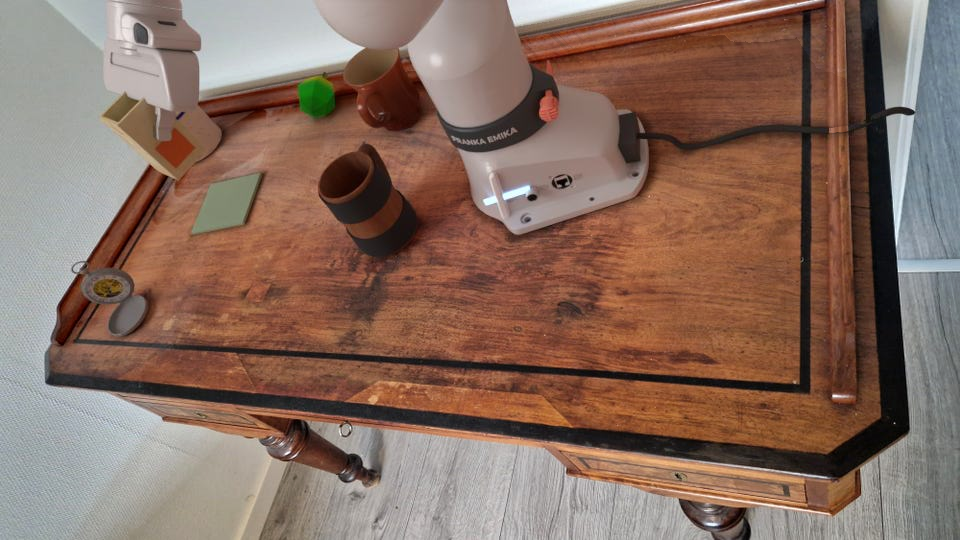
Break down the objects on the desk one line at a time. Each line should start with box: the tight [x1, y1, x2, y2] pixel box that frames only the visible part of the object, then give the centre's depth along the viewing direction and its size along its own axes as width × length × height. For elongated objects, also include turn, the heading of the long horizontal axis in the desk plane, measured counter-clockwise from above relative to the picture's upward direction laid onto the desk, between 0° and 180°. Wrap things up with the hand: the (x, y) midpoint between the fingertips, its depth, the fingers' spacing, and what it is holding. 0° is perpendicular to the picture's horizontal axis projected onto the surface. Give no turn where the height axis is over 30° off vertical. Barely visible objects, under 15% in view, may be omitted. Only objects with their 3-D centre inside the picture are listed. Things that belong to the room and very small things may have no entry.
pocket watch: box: [70, 260, 149, 337], centre depth 92 cm, size 8×8×10 cm
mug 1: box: [342, 47, 424, 132], centre depth 93 cm, size 12×9×10 cm
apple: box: [297, 71, 336, 119], centre depth 105 cm, size 7×6×9 cm
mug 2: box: [317, 142, 419, 258], centre depth 82 cm, size 9×12×12 cm
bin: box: [97, 91, 207, 181], centre depth 90 cm, size 6×6×11 cm
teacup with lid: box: [176, 104, 223, 163], centre depth 111 cm, size 12×9×12 cm
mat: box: [190, 172, 263, 235], centre depth 102 cm, size 10×10×1 cm
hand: (150, 135), depth 90 cm, fingers closed on bin, 6 cm apart
